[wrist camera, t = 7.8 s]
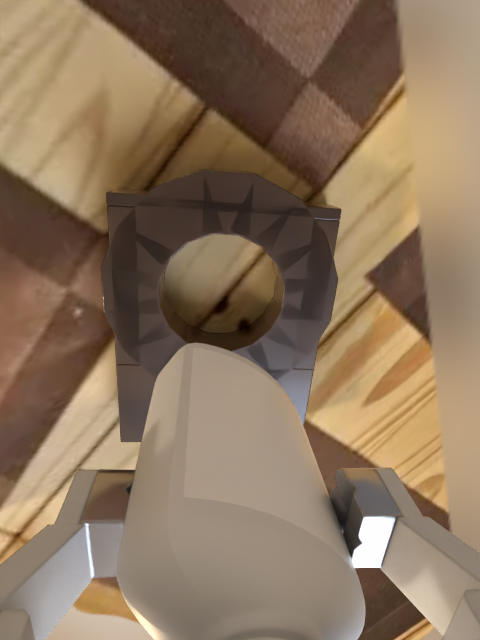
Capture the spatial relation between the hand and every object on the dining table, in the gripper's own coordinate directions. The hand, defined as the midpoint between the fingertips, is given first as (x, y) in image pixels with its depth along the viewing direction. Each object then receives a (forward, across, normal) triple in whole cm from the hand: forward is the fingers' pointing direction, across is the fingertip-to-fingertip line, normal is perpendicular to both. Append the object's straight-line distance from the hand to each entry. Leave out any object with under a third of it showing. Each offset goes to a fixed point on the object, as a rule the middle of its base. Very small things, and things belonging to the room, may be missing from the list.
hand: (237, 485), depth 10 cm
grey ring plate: (+18, 0, +3) cm, 19 cm away
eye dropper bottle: (+5, 0, 0) cm, 5 cm away
